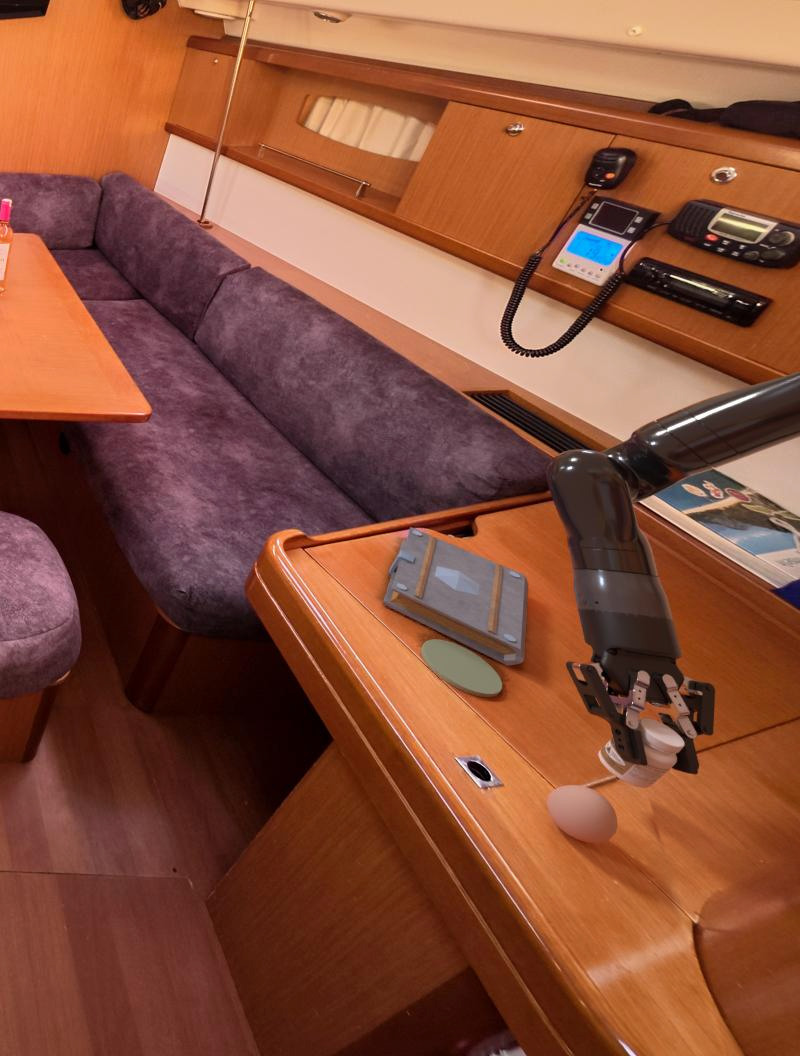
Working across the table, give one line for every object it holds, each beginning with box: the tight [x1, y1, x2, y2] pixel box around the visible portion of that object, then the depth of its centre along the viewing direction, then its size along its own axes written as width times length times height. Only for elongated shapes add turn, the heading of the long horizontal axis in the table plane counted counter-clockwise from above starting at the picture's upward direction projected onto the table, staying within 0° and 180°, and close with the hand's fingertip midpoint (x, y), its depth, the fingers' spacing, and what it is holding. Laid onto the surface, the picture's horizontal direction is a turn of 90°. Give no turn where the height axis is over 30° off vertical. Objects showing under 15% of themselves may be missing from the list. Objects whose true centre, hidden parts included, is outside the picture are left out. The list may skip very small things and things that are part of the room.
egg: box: [546, 784, 618, 844], centre depth 73 cm, size 5×5×7 cm
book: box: [382, 526, 529, 667], centre depth 104 cm, size 21×16×5 cm
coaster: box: [420, 638, 503, 698], centre depth 93 cm, size 9×9×1 cm
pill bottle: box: [597, 717, 685, 789], centre depth 74 cm, size 4×4×8 cm
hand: (659, 766), depth 72 cm, fingers closed on pill bottle, 4 cm apart
